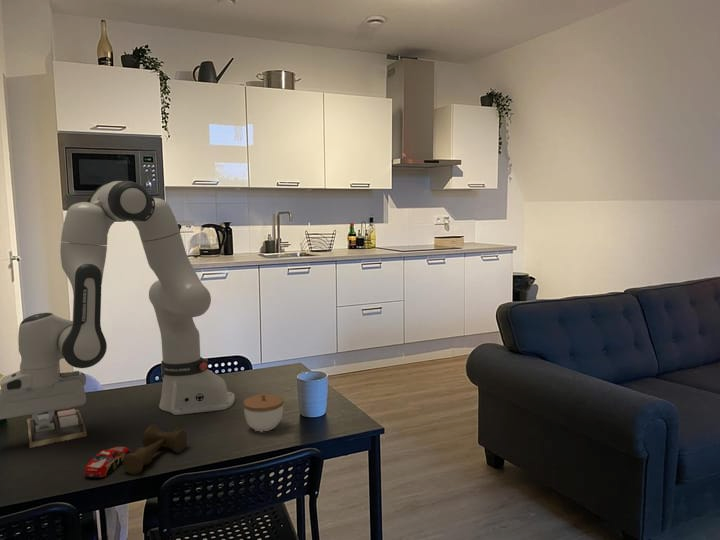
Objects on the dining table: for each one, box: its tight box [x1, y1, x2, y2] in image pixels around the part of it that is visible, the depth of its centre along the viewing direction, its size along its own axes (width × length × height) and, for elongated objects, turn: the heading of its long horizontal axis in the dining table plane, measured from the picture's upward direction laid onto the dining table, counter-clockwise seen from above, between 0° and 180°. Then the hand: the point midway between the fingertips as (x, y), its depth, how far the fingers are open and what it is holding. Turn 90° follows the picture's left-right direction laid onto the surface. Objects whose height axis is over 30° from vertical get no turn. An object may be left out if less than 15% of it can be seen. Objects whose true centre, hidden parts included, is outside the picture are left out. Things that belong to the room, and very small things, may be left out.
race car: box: [84, 446, 131, 479], centre depth 126 cm, size 13×5×4 cm, turn 173°
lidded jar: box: [243, 393, 284, 433], centre depth 147 cm, size 11×11×9 cm
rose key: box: [57, 408, 76, 421], centre depth 148 cm, size 4×4×2 cm
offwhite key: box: [59, 415, 78, 428], centre depth 144 cm, size 4×4×2 cm
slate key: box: [35, 414, 53, 426], centre depth 145 cm, size 4×4×2 cm
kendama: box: [121, 424, 188, 475], centre depth 131 cm, size 6×10×20 cm
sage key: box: [35, 423, 55, 433], centre depth 141 cm, size 4×4×2 cm
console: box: [26, 407, 88, 449], centre depth 147 cm, size 13×20×4 cm, turn 33°
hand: (44, 427), depth 141 cm, fingers closed, pressing on sage key
